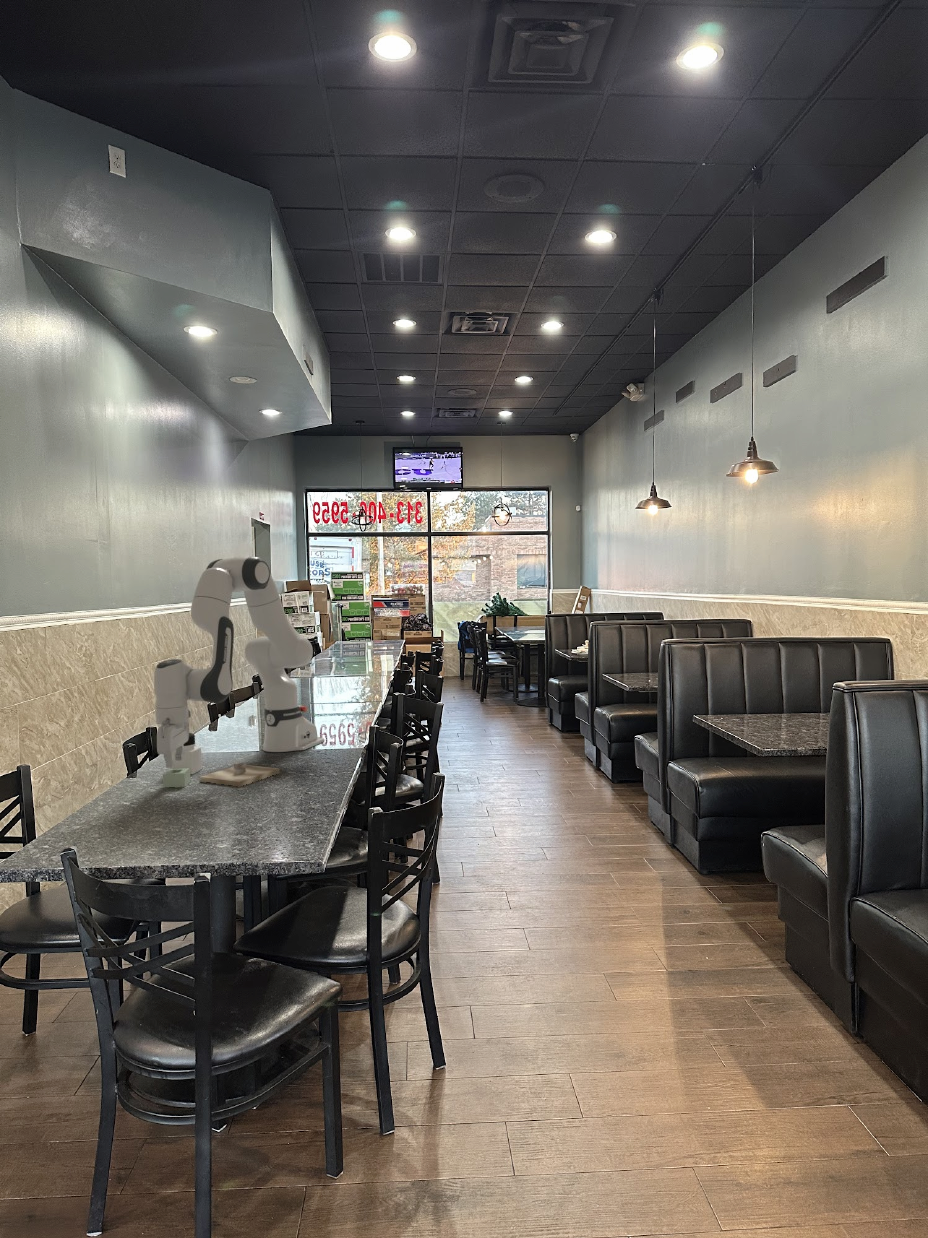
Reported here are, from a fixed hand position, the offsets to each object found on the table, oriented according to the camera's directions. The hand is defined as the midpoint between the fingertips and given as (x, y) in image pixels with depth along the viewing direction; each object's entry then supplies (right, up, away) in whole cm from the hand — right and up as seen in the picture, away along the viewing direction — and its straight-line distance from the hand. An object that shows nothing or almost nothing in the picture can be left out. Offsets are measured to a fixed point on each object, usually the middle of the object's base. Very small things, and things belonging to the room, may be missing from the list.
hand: (174, 763), depth 229 cm
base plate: (+17, -5, +6) cm, 19 cm away
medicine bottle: (-2, -6, +16) cm, 17 cm away
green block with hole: (0, -6, +1) cm, 6 cm away
